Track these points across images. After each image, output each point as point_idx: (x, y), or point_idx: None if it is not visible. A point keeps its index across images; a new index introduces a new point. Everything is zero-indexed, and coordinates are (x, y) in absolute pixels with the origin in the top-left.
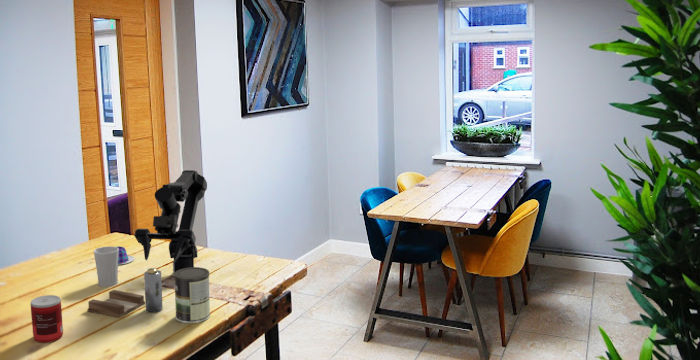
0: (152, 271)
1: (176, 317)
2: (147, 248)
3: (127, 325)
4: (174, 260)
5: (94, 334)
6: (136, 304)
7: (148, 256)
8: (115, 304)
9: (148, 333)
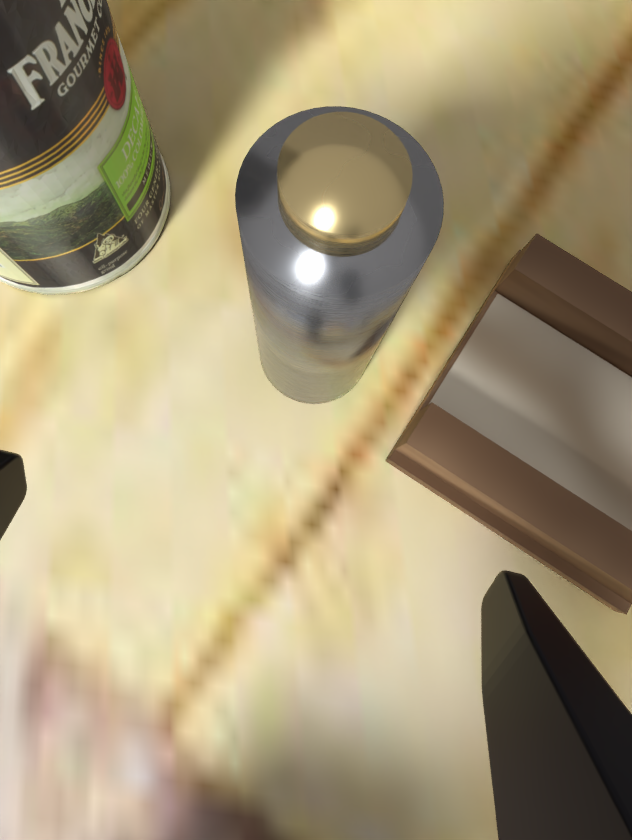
0: (338, 112)
1: (161, 159)
2: (585, 805)
3: (442, 145)
4: (14, 466)
5: (592, 69)
6: (439, 406)
7: (484, 703)
8: (577, 296)
9: (314, 28)
